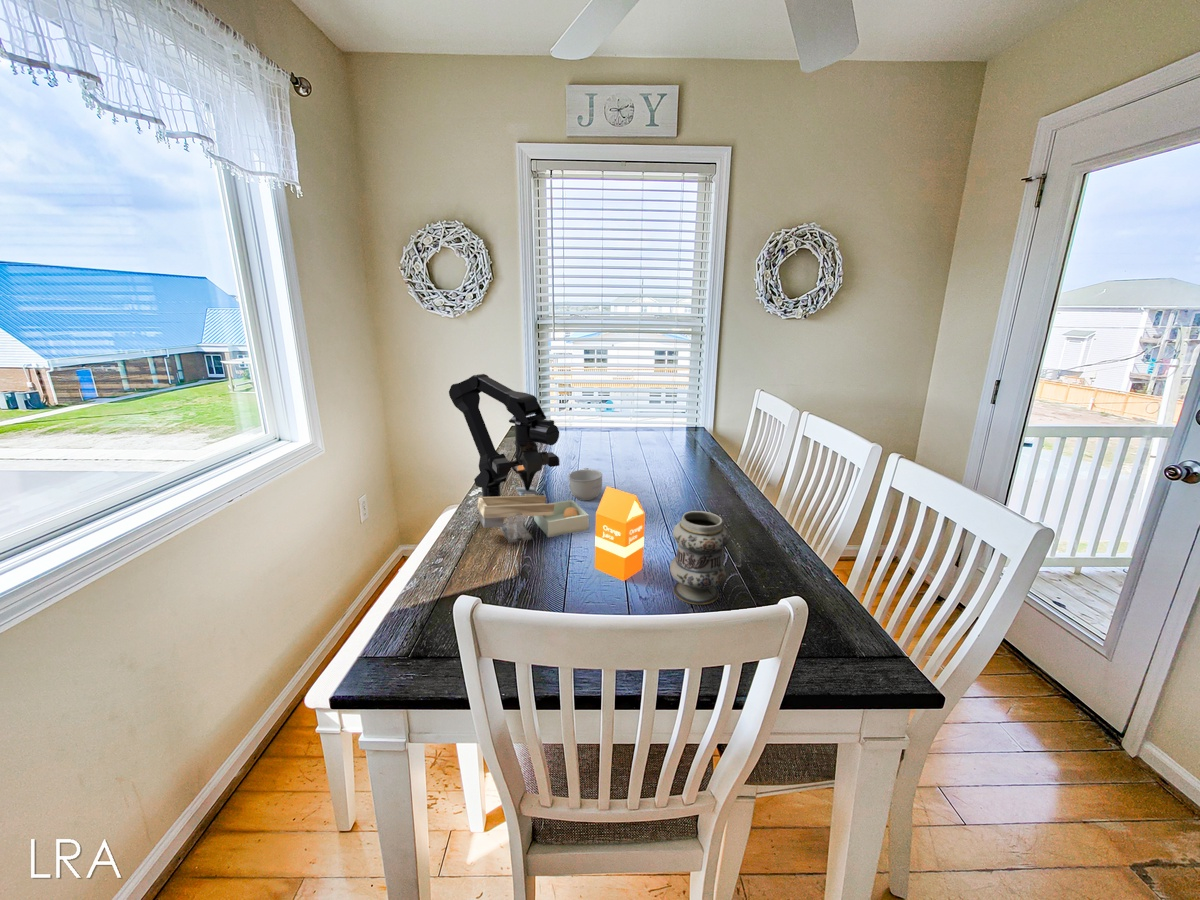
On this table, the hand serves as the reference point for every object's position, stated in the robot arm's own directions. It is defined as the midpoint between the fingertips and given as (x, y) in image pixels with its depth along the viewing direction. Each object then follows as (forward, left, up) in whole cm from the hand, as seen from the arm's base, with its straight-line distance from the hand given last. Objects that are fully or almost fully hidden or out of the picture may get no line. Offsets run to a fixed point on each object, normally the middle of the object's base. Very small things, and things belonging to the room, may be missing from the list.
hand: (527, 490), depth 146 cm
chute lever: (+6, -7, -4) cm, 10 cm away
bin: (+11, +6, -8) cm, 15 cm away
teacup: (-7, +22, -8) cm, 25 cm away
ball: (+11, +9, -5) cm, 15 cm away
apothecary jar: (+55, +21, -8) cm, 60 cm away
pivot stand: (+11, -7, -8) cm, 15 cm away
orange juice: (+39, +10, -8) cm, 41 cm away
